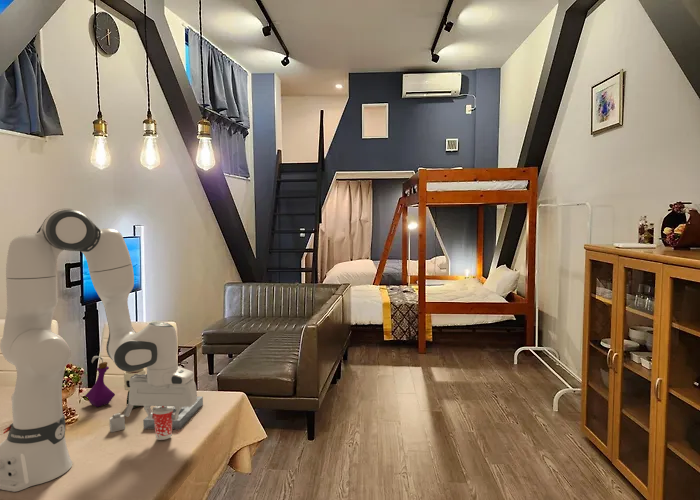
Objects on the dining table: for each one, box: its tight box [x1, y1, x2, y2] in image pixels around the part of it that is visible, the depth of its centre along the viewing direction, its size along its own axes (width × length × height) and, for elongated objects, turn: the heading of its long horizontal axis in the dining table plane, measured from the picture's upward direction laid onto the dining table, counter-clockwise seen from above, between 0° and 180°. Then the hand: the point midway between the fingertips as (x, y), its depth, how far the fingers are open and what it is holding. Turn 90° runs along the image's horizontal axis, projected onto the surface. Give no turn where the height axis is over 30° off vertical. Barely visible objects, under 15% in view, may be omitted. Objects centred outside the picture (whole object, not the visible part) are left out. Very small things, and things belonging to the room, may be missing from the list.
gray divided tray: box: [142, 395, 204, 430], centre depth 160 cm, size 12×20×3 cm, turn 177°
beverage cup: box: [151, 406, 174, 441], centre depth 143 cm, size 6×6×14 cm
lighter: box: [109, 403, 134, 433], centre depth 151 cm, size 7×2×8 cm, turn 128°
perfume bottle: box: [84, 355, 116, 408], centre depth 170 cm, size 8×8×18 cm
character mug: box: [123, 368, 147, 409], centre depth 169 cm, size 11×7×13 cm, turn 45°
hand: (163, 419), depth 143 cm, fingers closed on beverage cup, 6 cm apart
